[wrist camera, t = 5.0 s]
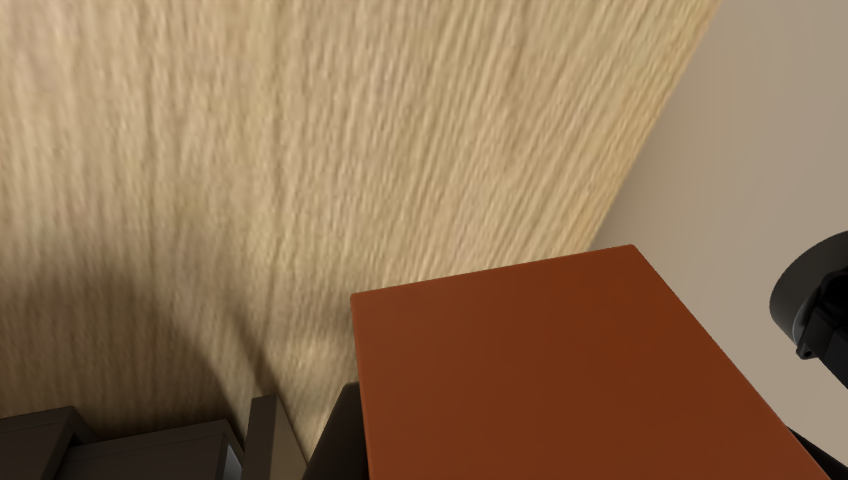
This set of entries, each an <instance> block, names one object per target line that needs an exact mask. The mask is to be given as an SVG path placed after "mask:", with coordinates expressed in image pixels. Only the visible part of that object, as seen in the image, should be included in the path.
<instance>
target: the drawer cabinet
mask: <svg viewBox="0 0 848 480" xmlns="http://www.w3.org/2000/svg"><path fill="white" fill-rule="evenodd" d="M97 442H99V441H98V440H97V439H96V437H95V436H94V434H93V433H92V432H91V430H90V429H89V428H88V426H87V425H86V424H85V422H84V421H83V420H82V418H81V417H80V415H79V414H78V413H77V411H76V410H75V409H74V407H67V408H61V409H56V410H50V411H44V412H39V413H33V414H28V415H22V416H17V417H11V418H6V419H0V480H53V478H54V476H55V474H56V471H57V469H58V467H59V464H60V462H61V460H62V458H63V455H64V453H65V451H66V448H70V447H75V446H81V445H86V444H92V443H97Z"/></svg>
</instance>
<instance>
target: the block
mask: <svg viewBox="0 0 848 480" xmlns="http://www.w3.org/2000/svg"><path fill="white" fill-rule="evenodd" d="M350 303H351V312H352V321H353V330H354V340H355V349H356V358H357V367H358V376H359V386H360V395H361V404H362V413H363V422H364V432H365V441H366V450H367V459H368V469H369V478H370V480H831V479H830V478H829V476H828V475H827V474H826V473H825V472H824V470H823V469H822V468H821V467H820V466H819V465H818V463H817V462H816V461H815V460H814V459H813V457H812V456H811V455H810V454H809V453H808V451H807V450H806V449H805V448H804V447H803V446H802V444H801V443H800V442H799V441H798V440H797V438H796V437H795V436H794V435H793V434H792V432H791V431H790V430H789V429H788V428H787V426H786V425H785V424H784V423H783V422H782V421H781V419H780V418H779V417H778V416H777V415H776V413H775V412H774V411H773V410H772V409H771V407H770V406H769V405H768V404H767V403H766V402H765V400H764V399H763V398H762V397H761V396H760V395H759V393H758V392H757V391H756V390H755V389H754V387H753V386H752V385H751V384H750V383H749V381H748V380H747V379H746V378H745V377H744V375H743V374H742V373H741V372H740V371H739V369H738V368H737V367H736V366H735V365H734V364H733V362H732V361H731V360H730V359H729V358H728V357H727V355H726V354H725V353H724V352H723V350H722V349H721V348H720V347H719V346H718V344H717V343H716V342H715V341H714V340H713V339H712V337H711V336H710V335H709V334H708V333H707V331H706V330H705V329H704V328H703V327H702V326H701V324H700V323H699V322H698V321H697V320H696V318H695V317H694V316H693V315H692V314H691V313H690V311H689V310H688V309H687V308H686V307H685V305H684V304H683V303H682V302H681V301H680V300H679V298H678V297H677V296H676V295H675V293H674V292H673V291H672V290H671V289H670V288H669V286H668V285H667V284H666V283H665V282H664V280H663V279H662V278H661V277H660V276H659V274H658V273H657V272H656V271H655V270H654V268H653V267H652V266H651V265H650V264H649V263H648V261H647V260H646V259H645V258H644V256H643V255H642V254H641V253H640V252H639V251H638V249H637V248H636V247H635V246H634V245H632V244H629V245H623V246H618V247H612V248H606V249H601V250H595V251H590V252H584V253H578V254H572V255H567V256H561V257H556V258H550V259H544V260H539V261H533V262H527V263H522V264H516V265H511V266H505V267H499V268H494V269H488V270H482V271H477V272H471V273H466V274H460V275H454V276H449V277H443V278H437V279H432V280H426V281H420V282H415V283H409V284H404V285H398V286H392V287H387V288H381V289H375V290H370V291H364V292H359V293H353V294H352V295H351V297H350Z"/></svg>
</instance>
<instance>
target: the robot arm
mask: <svg viewBox="0 0 848 480" xmlns="http://www.w3.org/2000/svg"><path fill="white" fill-rule="evenodd" d="M796 354H797V355H798V356H799V357H800V359H802V360H808V359H813V358H819V360H820V361H822V363H823V364H824V365H825V366H826V367H827V368H828V369H829V370H830V371H831V372H832V373H833V374H834V375H835V376H836V377H837V379H838V380H839V381H840V382H841V383H842V384H843V385H844V386H845V387H846V388H847V389H848V269H843V270H838V271H833V272H830V273H828V274H827V275H825V276H824V278H823V279H822V281H821V284H820V287H819V290H818V292H817V295H816V298H815V300H814V303H813V306H812V308H811V311H810V314H809V316H808V319H807V322H806V324H805V327H804V330H803V332H802V335H801V338H800V341H799V343H798V346H797V349H796ZM787 428H788V429H789V430H790V431H791V432H792V434H793V435H794V436H795V437H796V438H797V440H798V441H799V442H800V443H801V444H802V446H803V447H804V448H805V449H806V450H807V451H808V453H809V454H810V455H811V456H812V457H813V459H814V460H815V461H816V462H817V463H818V465H819V466H820V467H821V468H822V469H823V470H824V472H825V473H826V474H827V475H828V476H829V478H830V479H831V480H848V467H846V466H845V465H843V464H842V463H840V462H839V461H837V460H836V459H835V458H833V457H832V456H830V455H828V454H827V453H826V452H824V451H822V450H821V449H820V448H818V447H817V446H815V445H814V444H812V443H811V442H809V441H808V440H806V439H805V438H804V437H802V436H801V435H799V434H798V433H796V432H795V431H793V430H792V429H790V428H789V427H787ZM301 480H370V478H369V469H368V459H367V450H366V441H365V432H364V422H363V413H362V404H361V395H360V386H359V381H355V382H349V383H347V384H345V385H344V387H343V388H342V391H341V393H340V395H339V397H338V399H337V402H336V404H335V406H334V408H333V410H332V413H331V415H330V417H329V419H328V421H327V424H326V426H325V428H324V430H323V433H322V435H321V437H320V439H319V441H318V444H317V446H316V448H315V450H314V452H313V455H312V457H311V459H310V461H309V463H308V466H307V468H306V470H305V472H304V475H303V477H302V479H301Z"/></svg>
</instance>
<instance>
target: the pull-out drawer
mask: <svg viewBox="0 0 848 480" xmlns="http://www.w3.org/2000/svg"><path fill="white" fill-rule="evenodd" d="M306 468H307V465H306V463H305V460H304V458H303V455H302V453H301V450H300V448H299V446H298V443H297V441H296V438H295V436H294V433H293V431H292V428H291V426H290V423H289V421H288V418H287V416H286V413H285V411H284V408H283V406H282V403H281V401H280V399H279V396H278V394H273V395H268V396H262V397H257V398H253V399H252V403H251V410H250V417H249V424H248V431H247V438H246V445H245V452H244V453H243V451H242V449H241V447H240V445H239V443H238V441H237V439H236V437H235V435H234V433H233V431H232V429H231V427H230V425H229V423H228V421H227V419H222V420H217V421H211V422H206V423H200V424H195V425H190V426H184V427H179V428H173V429H168V430H162V431H157V432H151V433H146V434H141V435H135V436H130V437H124V438H119V439H113V440H108V441H102V442H97V443H92V444H86V445H81V446H75V447H70V448H66V451H65V453H64V455H63V458H62V460H61V462H60V464H59V467H58V469H57V471H56V474H55V476H54V478H53V480H301V479H302V477H303V475H304V472H305V470H306Z"/></svg>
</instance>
